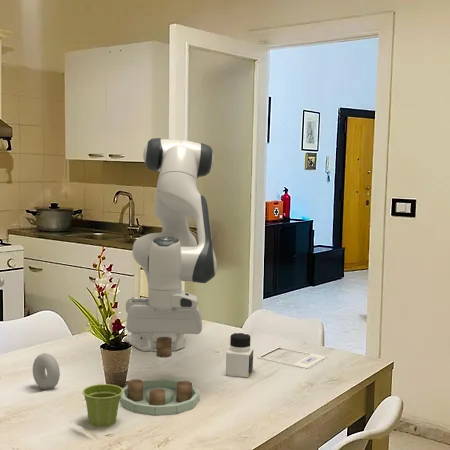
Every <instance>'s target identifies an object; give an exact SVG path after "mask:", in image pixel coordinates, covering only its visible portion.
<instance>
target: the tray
mask: <svg viewBox="0 0 450 450" xmlns="http://www.w3.org/2000/svg"><path fill="white" fill-rule="evenodd" d="M141 380H142V379H141ZM142 381H143V400H141V401H137V402H134V401H132V400H130V399H128V398H127V397H128V384H126V385H125V386H124V387H122V389H123V393H122V394H121V398H120V400H119V401H120V404H121V406H122V407H123V408H125V409H127V410H129V411H131V412H133V413H137V414H138V413H139V414H144V415H152V416H164V415H166V416H167V415H177V414H180V413H184V412H186V411H189V410H193V409H194V407H196V406H197V404H199V402H200V392H199V390H198V388H197V387H196V386H195V385H193V384H192V398H191V399H190V400H187V401H184V402H181V403H179V402H177V401H176V393H177V382H179V381H180V380H179V379H177V380H176V379H171V378H169V379H168V378H155V379H153V378H152V379H150V378H149V379H143V380H142ZM152 389H163V390H165V405H158V406H155V405H149V391H150V390H152Z"/></svg>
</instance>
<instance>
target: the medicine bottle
mask: <svg viewBox="0 0 450 450" xmlns="http://www.w3.org/2000/svg"><path fill="white" fill-rule="evenodd" d="M251 339H252V338H251V335H250V334H248V333H246V332H234V333H232V334H231V335H230V340H229V341H230V343H229V344H230V345H229V348H228V350H227V351H226V353H225V376H231V377H240V378H249V377H250V376H251V374H252V372H253V369H254V347H251Z"/></svg>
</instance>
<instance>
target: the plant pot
mask: <svg viewBox="0 0 450 450" xmlns="http://www.w3.org/2000/svg"><path fill="white" fill-rule="evenodd" d="M122 393H123V387H120V386H119V385H115V384H108V383H103V384H102V383H100V384H92V385H89V386H87V387H85V388H83V390H82V395H83V396H84V401H85V402H86V411H87V419H88V424H89V425H91V426H93V427H101V428H102V427H105V428H106V427H109V426H113V425H114V424H115V423H116V422H117V415H118V410H119V403H120V401H121V400H120V398H121V394H122Z"/></svg>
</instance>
